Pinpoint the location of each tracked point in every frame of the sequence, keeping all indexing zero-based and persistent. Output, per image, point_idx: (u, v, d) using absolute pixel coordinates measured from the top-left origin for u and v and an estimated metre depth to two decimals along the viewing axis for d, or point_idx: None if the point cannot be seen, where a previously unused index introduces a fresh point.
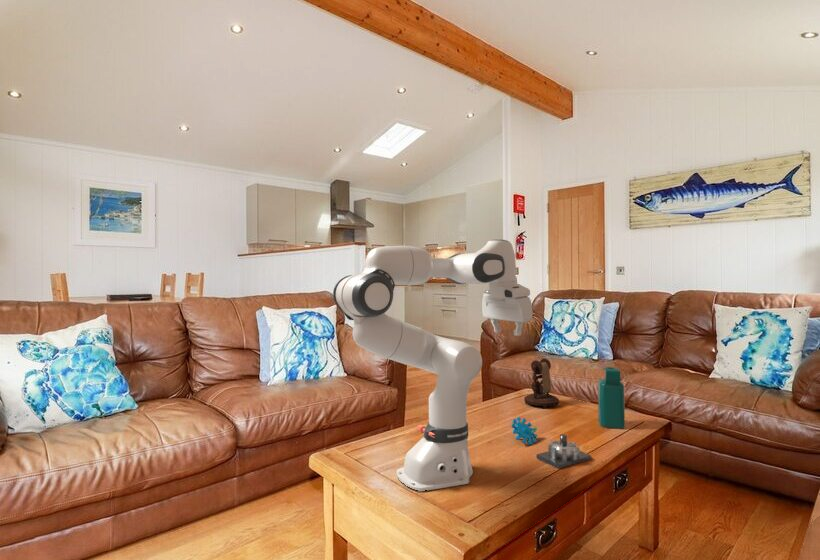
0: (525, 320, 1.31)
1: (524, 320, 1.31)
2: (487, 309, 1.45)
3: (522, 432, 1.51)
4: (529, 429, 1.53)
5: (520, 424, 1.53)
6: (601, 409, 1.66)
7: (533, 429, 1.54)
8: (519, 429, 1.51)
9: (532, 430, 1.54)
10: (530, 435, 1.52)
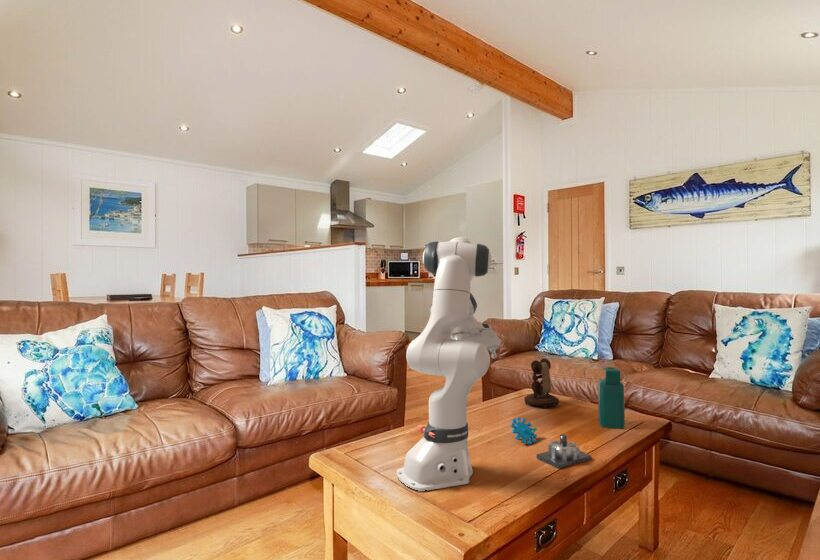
0: None
1: (500, 343, 1.79)
2: None
3: (522, 432, 1.51)
4: (529, 429, 1.54)
5: (520, 424, 1.54)
6: (601, 409, 1.66)
7: (533, 429, 1.54)
8: (519, 429, 1.52)
9: (532, 430, 1.54)
10: (530, 435, 1.52)
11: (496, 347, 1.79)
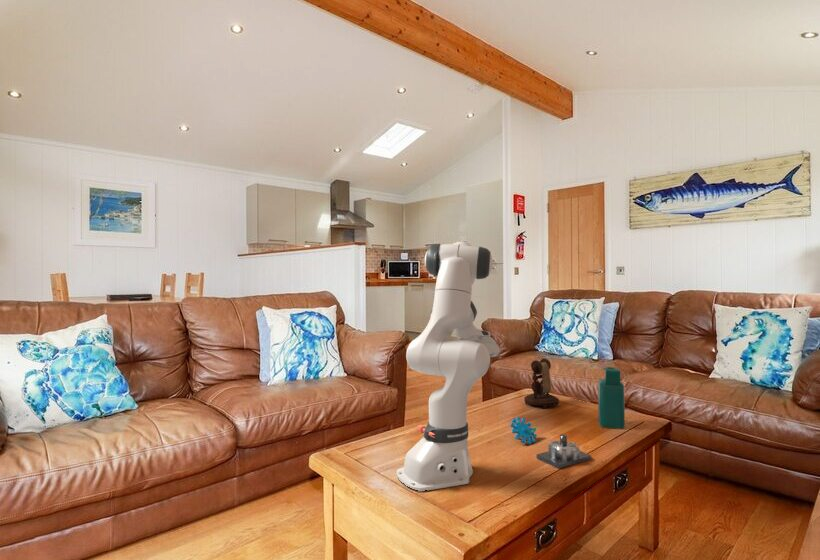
0: (499, 351, 1.79)
1: (499, 351, 1.79)
2: None
3: (521, 432, 1.51)
4: (529, 429, 1.54)
5: (519, 424, 1.54)
6: (601, 409, 1.66)
7: (533, 429, 1.54)
8: (518, 429, 1.52)
9: (532, 430, 1.54)
10: (529, 435, 1.52)
11: (495, 354, 1.79)
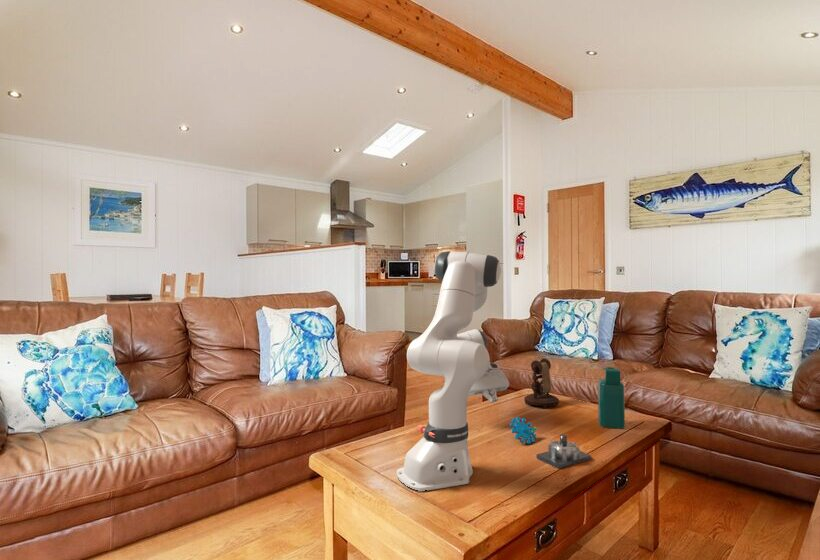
0: (508, 385, 1.74)
1: None
2: (473, 383, 1.67)
3: (521, 431, 1.52)
4: (528, 429, 1.54)
5: (519, 423, 1.54)
6: (601, 409, 1.66)
7: (533, 429, 1.55)
8: (518, 428, 1.52)
9: (531, 430, 1.54)
10: (529, 435, 1.52)
11: (504, 388, 1.74)
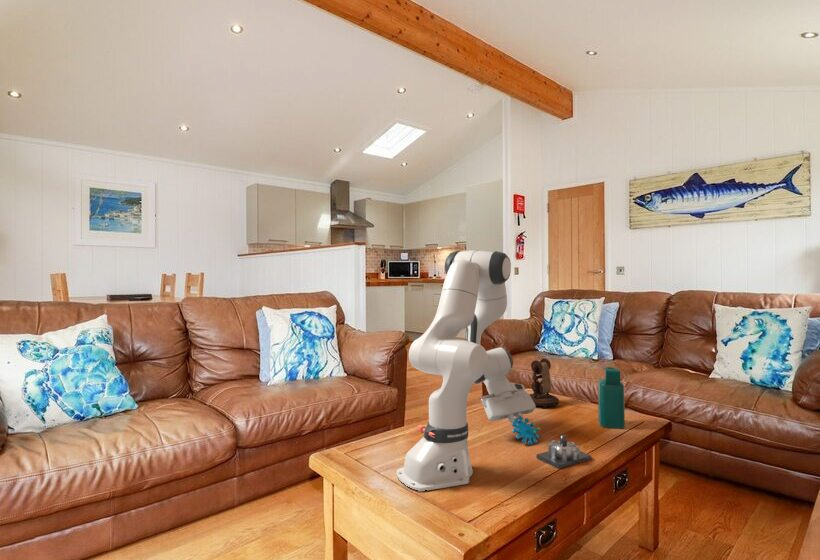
0: None
1: (535, 407, 1.62)
2: (497, 407, 1.55)
3: (523, 431, 1.51)
4: (531, 429, 1.53)
5: (522, 423, 1.53)
6: (601, 409, 1.66)
7: (535, 429, 1.54)
8: (520, 428, 1.52)
9: (534, 430, 1.53)
10: (531, 435, 1.51)
11: (530, 411, 1.62)
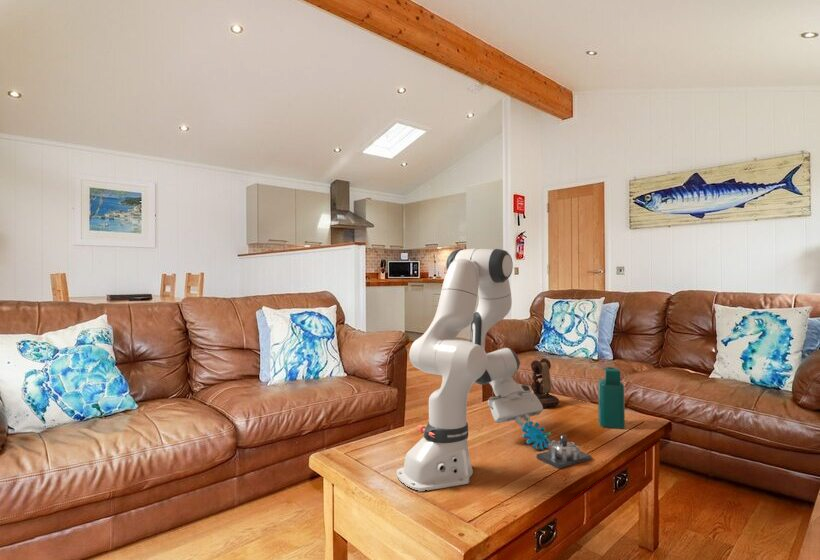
0: None
1: (542, 408, 1.59)
2: (504, 409, 1.52)
3: (533, 436, 1.47)
4: (541, 434, 1.49)
5: (532, 428, 1.49)
6: (601, 409, 1.66)
7: (546, 434, 1.49)
8: (530, 433, 1.47)
9: (545, 435, 1.49)
10: (542, 440, 1.47)
11: (538, 413, 1.58)
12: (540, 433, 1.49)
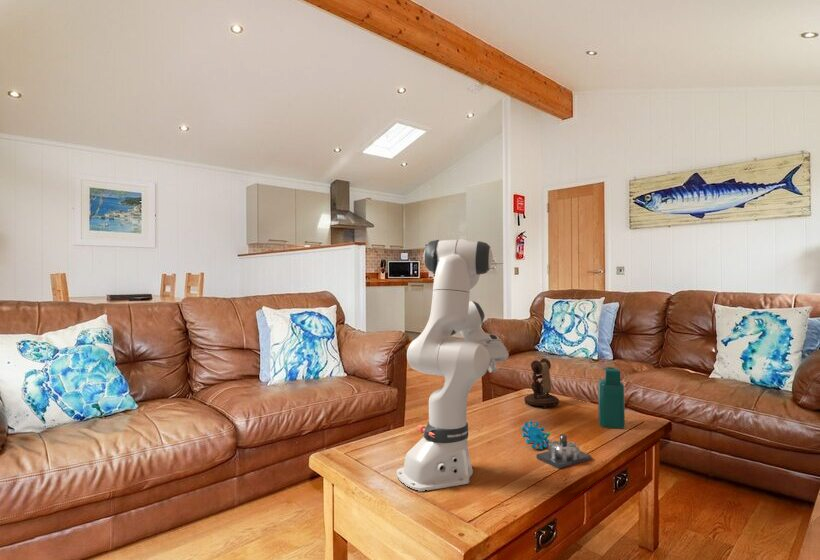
0: None
1: (508, 355, 1.74)
2: None
3: (533, 436, 1.47)
4: (541, 434, 1.49)
5: (532, 428, 1.49)
6: (601, 409, 1.66)
7: (546, 434, 1.49)
8: (530, 433, 1.48)
9: (545, 435, 1.49)
10: (541, 440, 1.47)
11: (504, 359, 1.74)
12: (540, 433, 1.49)
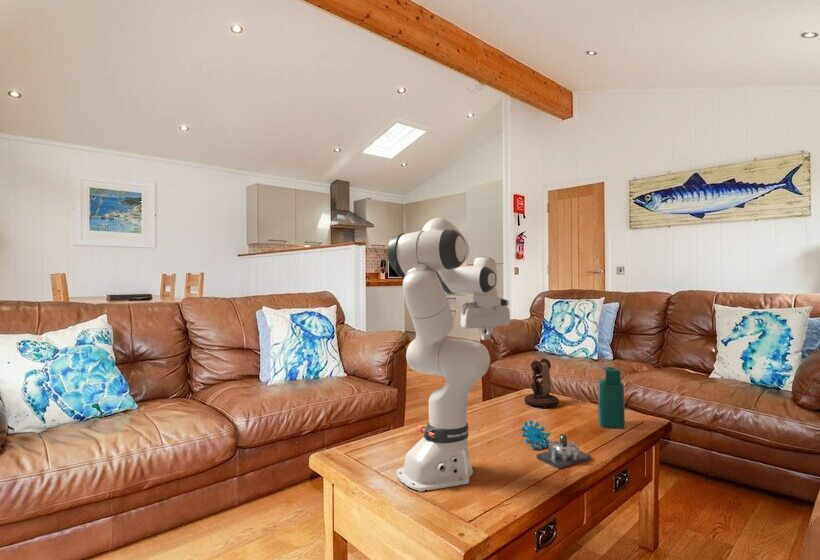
0: None
1: None
2: (473, 319, 1.57)
3: (532, 436, 1.47)
4: (541, 433, 1.49)
5: (531, 428, 1.50)
6: (601, 409, 1.66)
7: (546, 434, 1.50)
8: (529, 433, 1.48)
9: (544, 435, 1.49)
10: (541, 440, 1.47)
11: None
12: (539, 433, 1.49)
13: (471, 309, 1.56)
